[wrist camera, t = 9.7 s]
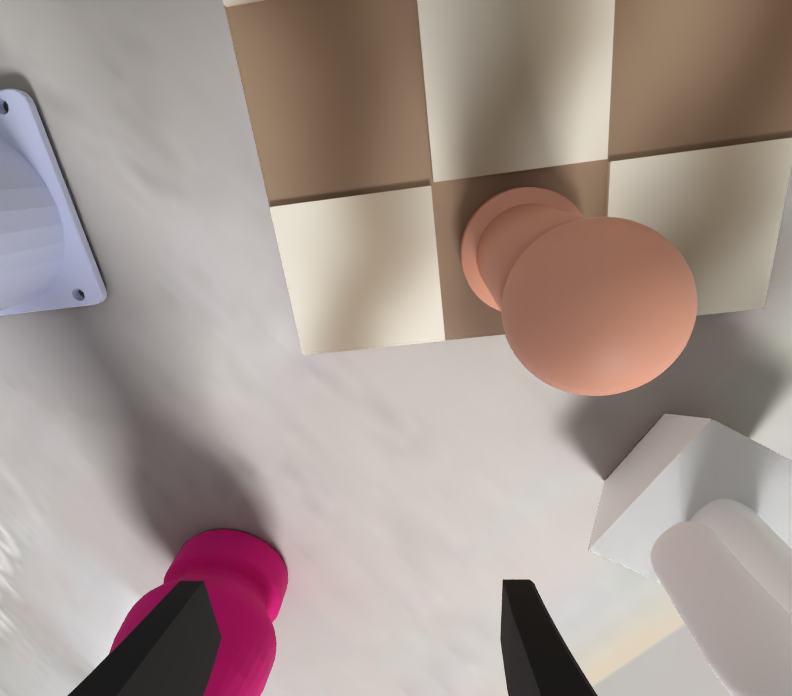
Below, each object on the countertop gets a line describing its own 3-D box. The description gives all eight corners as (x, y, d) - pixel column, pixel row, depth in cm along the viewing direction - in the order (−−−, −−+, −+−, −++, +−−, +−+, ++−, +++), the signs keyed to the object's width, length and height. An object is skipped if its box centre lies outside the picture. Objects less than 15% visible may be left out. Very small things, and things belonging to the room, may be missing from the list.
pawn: (464, 312, 17) (508, 452, 9) (455, 195, 16) (499, 228, 7) (578, 299, 17) (742, 433, 8) (581, 178, 15) (788, 191, 7)
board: (308, 345, 19) (301, 356, 18) (183, -231, 13) (161, -268, 12) (743, 301, 18) (765, 309, 17) (863, -390, 11) (912, -450, 10)
